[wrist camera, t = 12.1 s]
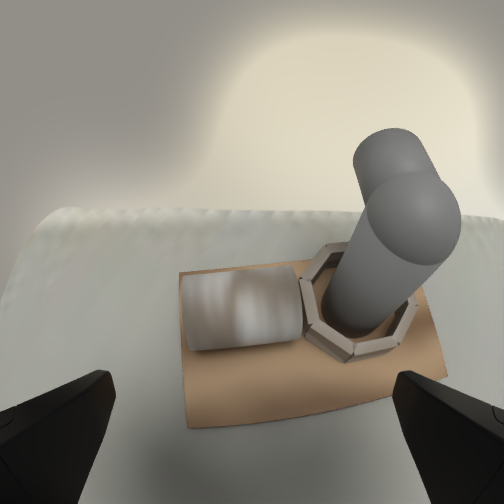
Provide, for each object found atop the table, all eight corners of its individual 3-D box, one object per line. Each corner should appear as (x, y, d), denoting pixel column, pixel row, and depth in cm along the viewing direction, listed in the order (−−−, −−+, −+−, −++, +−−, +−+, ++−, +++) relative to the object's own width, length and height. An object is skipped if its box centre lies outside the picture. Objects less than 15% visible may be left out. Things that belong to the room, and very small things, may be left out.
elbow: (385, 336, 22) (494, 235, 10) (323, 340, 22) (402, 231, 10) (371, 257, 26) (439, 131, 14) (315, 257, 26) (359, 118, 14)
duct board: (440, 379, 21) (485, 359, 16) (190, 428, 19) (170, 428, 14) (402, 255, 27) (431, 215, 22) (181, 279, 26) (165, 237, 20)
